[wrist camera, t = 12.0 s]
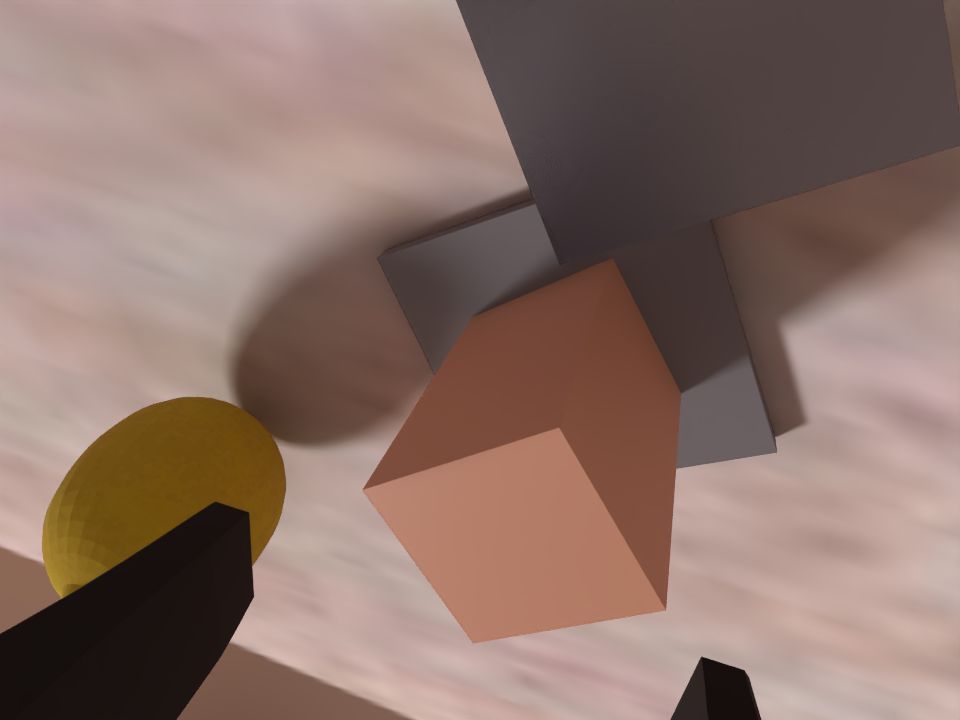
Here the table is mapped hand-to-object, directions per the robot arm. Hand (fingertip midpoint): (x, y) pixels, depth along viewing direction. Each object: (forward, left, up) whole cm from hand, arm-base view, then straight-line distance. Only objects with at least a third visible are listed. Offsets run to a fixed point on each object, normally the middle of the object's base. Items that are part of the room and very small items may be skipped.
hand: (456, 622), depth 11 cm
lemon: (0, -11, -10) cm, 15 cm away
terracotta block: (0, 0, -9) cm, 9 cm away
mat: (0, 0, -9) cm, 9 cm away
